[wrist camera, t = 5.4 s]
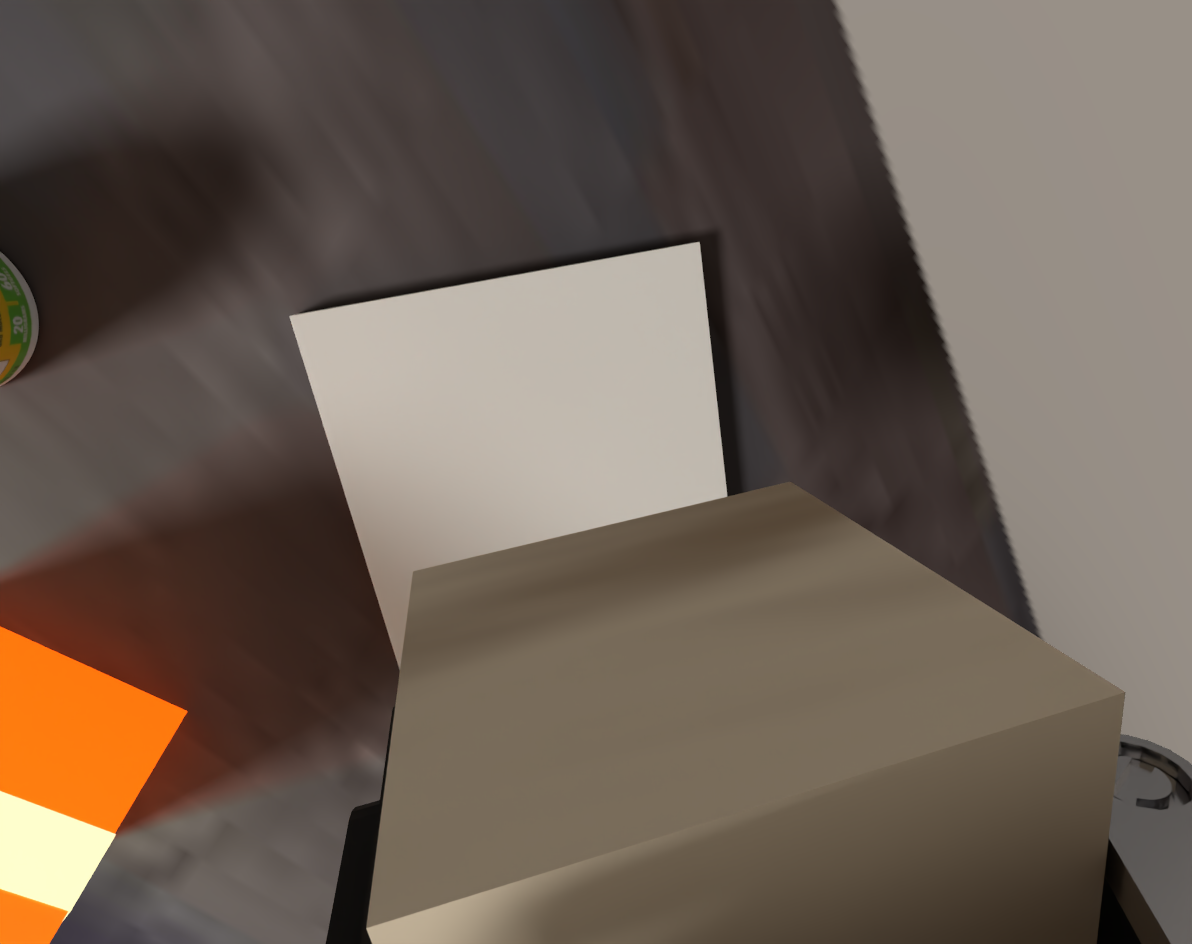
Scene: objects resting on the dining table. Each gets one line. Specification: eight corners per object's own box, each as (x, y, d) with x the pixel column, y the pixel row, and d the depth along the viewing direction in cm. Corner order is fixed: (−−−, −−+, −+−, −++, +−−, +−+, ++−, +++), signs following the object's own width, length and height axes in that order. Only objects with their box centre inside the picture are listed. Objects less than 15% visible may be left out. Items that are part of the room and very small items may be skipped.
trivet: (297, 313, 22) (289, 316, 21) (688, 243, 24) (699, 241, 23) (404, 660, 27) (402, 677, 26) (726, 577, 29) (737, 589, 28)
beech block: (413, 571, 10) (366, 927, 5) (789, 481, 11) (1125, 692, 6) (498, 873, 12) (536, 1371, 7) (811, 776, 13) (1073, 1145, 8)
